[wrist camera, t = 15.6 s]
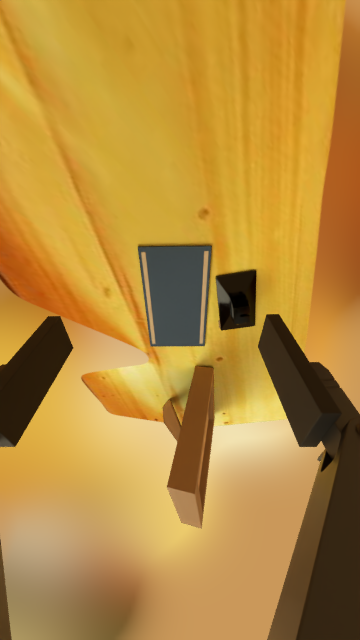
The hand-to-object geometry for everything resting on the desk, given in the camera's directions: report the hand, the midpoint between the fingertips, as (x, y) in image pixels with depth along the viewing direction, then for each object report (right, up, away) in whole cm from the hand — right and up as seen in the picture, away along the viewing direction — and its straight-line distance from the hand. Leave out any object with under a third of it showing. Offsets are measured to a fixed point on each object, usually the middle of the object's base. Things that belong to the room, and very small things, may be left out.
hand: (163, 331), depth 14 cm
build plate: (+12, +4, +28) cm, 30 cm away
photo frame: (+3, -19, +45) cm, 49 cm away
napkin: (0, +4, +28) cm, 28 cm away
